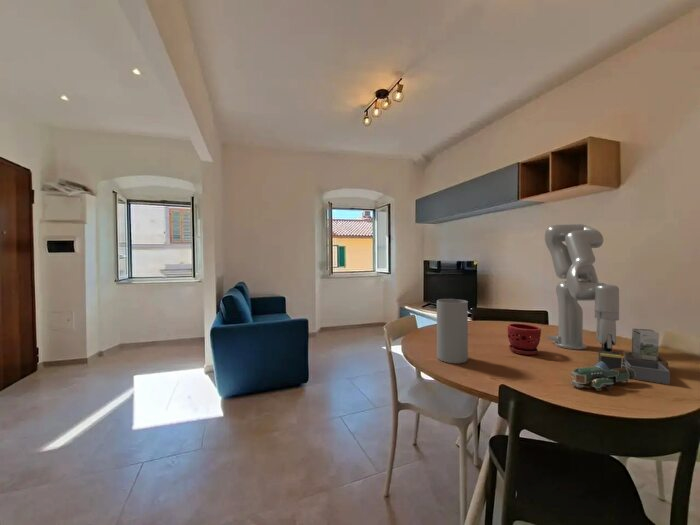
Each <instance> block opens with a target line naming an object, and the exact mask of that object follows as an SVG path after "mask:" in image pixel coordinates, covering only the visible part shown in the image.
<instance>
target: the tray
mask: <svg viewBox="0 0 700 525" xmlns="http://www.w3.org/2000/svg"><path fill="white" fill-rule="evenodd" d="M623 362H624V363H623ZM625 363H626V364H625ZM622 365H624V366H622V368H626V367H625V366H626V365H627V368H631V369H633V370H634V371H635V372H636V377H635V378H633V379H632V380H635V379H636V381H641V380H642V381H643V382H648V381H649V383H655V382H656V383H657V384H661V383H662V385H663V384H664V385H668V386H669V385H671V371H670V370H669V368H668V369H666V368H665V367H664V366H663V365H662V364H661V363H659V362H652V361H644V360H636V359H628V358H624V357H622Z"/></svg>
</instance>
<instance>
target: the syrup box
mask: <svg viewBox="0 0 700 525" xmlns="http://www.w3.org/2000/svg"><path fill="white" fill-rule="evenodd" d="M631 330H632V331H631V332H632V333H631V352H632V357H633V358H638V359H646V360H654V361H658V355H659V339H660V336H659V335H660V333H659V332H657V331H655V330H653V329H650V328H649V329H648V328H632V329H631Z"/></svg>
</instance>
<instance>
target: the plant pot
mask: <svg viewBox="0 0 700 525" xmlns="http://www.w3.org/2000/svg"><path fill="white" fill-rule="evenodd" d="M541 335H542V328H541V327H539V326H535V325H532V324H527V323H526V324H523V323H509V324H508V325H507V338H508V342H509V345H508V348H509V350H510V351H511V352H513V353H515V354H519V355H526V356H529V355H531V356H532V355H536V354H538V352H539V349H538V346H540V345H539V344H540V341H541Z"/></svg>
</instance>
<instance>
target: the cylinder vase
mask: <svg viewBox="0 0 700 525" xmlns="http://www.w3.org/2000/svg"><path fill="white" fill-rule="evenodd" d="M468 303H469V301H468V300H465V299H456V298H442V299H441V298H440V299H437V300H436V357H437V359H438V360H439V361H441V362H443V361H444V363H446V362H447V364H452V363H453V364H454V365H455V364H457V365H459V364H464V363H466V362H468V359H469V343H468V342H469V339H468V338H469V329H468V328H469V322H468V321H469V319H468V316H469V312H468V311H469V310H468V309H469V308H468ZM453 364H452V365H453Z"/></svg>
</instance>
